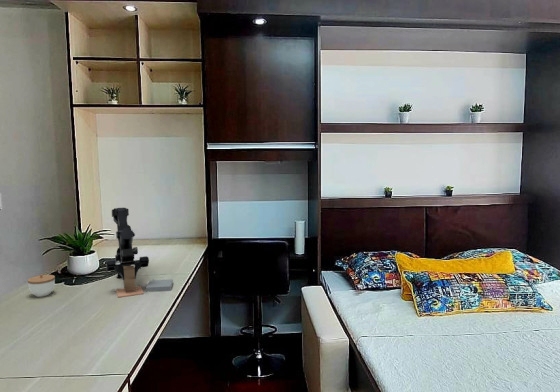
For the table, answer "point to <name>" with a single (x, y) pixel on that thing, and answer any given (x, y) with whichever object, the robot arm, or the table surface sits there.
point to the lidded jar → (41, 285)
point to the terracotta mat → (129, 292)
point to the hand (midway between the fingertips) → (129, 279)
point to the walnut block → (129, 277)
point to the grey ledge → (159, 285)
